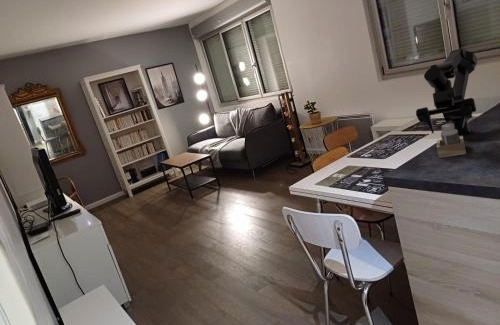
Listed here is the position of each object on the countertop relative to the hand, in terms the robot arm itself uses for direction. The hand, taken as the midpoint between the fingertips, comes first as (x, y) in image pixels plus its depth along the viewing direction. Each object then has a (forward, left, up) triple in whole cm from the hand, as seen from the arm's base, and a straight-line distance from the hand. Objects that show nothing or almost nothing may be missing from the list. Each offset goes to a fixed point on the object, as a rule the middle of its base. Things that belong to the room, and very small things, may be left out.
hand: (447, 130), depth 127 cm
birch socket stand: (-1, 0, -9) cm, 9 cm away
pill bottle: (-1, 0, -8) cm, 8 cm away
